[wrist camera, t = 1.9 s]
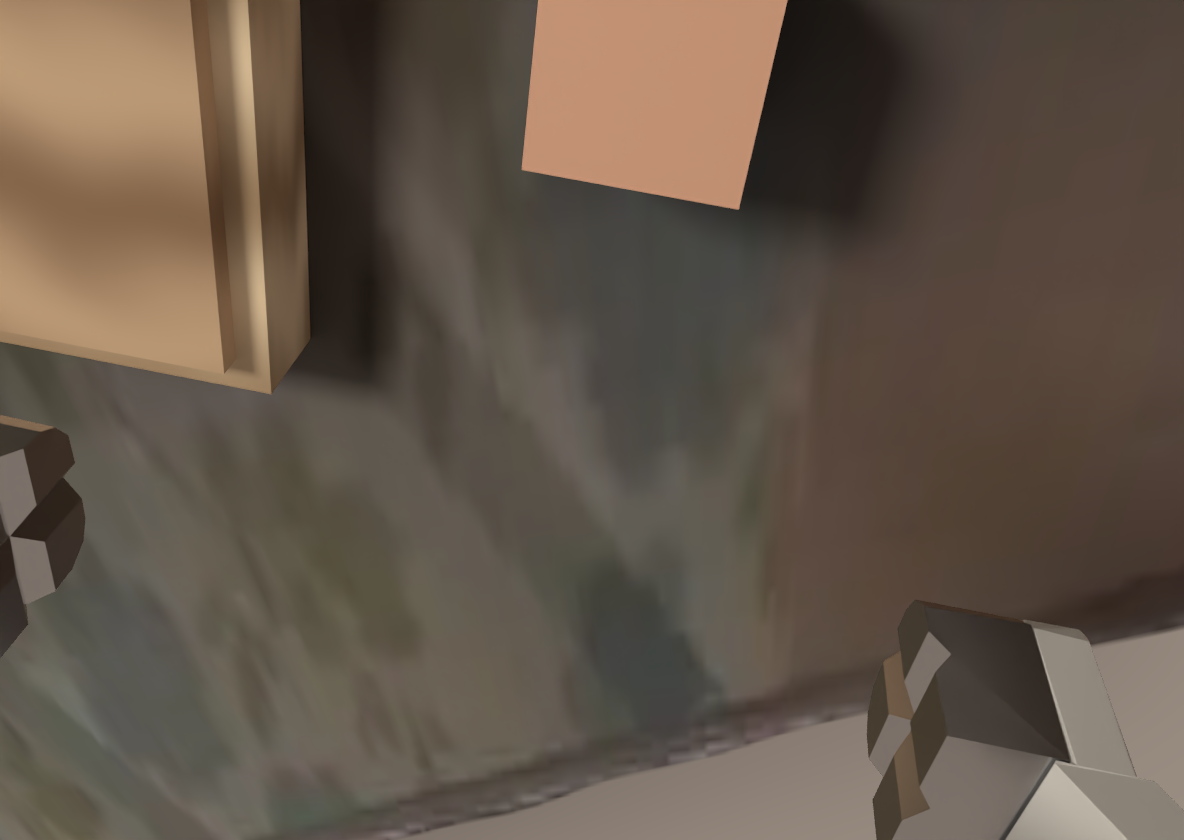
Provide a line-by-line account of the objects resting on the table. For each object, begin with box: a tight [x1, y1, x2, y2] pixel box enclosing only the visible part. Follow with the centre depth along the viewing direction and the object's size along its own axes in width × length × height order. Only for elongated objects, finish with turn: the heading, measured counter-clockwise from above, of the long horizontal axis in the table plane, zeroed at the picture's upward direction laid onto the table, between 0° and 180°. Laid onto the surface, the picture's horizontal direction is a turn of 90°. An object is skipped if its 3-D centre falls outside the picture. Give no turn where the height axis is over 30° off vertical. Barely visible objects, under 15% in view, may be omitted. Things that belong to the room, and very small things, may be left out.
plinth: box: [0, 0, 311, 394], centre depth 28 cm, size 13×13×4 cm
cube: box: [522, 0, 788, 210], centre depth 24 cm, size 5×5×5 cm
